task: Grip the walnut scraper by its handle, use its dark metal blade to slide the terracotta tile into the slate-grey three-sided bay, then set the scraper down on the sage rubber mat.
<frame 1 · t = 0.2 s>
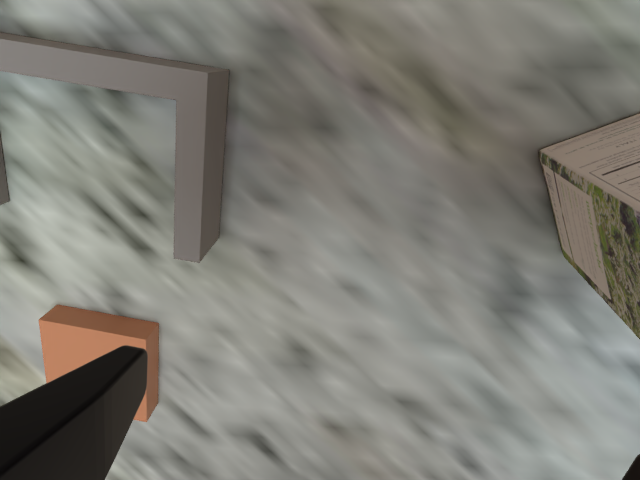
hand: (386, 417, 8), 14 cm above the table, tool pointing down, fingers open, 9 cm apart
tile: (113, 351, 27), on the table
syrup box: (608, 182, 20), on the table
bay: (98, 140, 22), on the table
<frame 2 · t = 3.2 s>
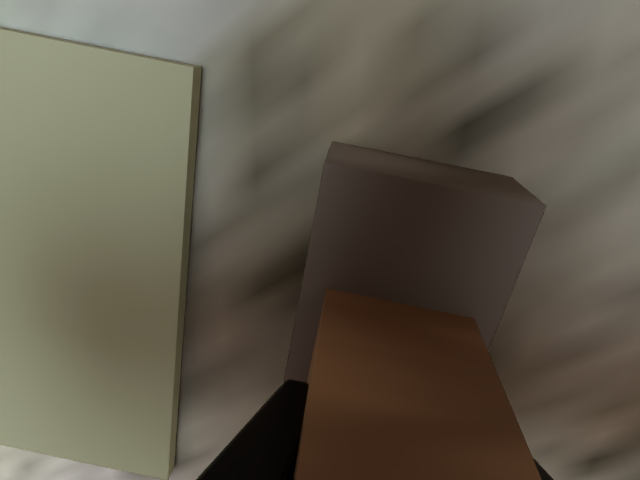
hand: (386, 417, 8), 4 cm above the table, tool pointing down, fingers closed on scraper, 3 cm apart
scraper: (379, 312, 11), on the table, touching gripper
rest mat: (1, 268, 12), on the table
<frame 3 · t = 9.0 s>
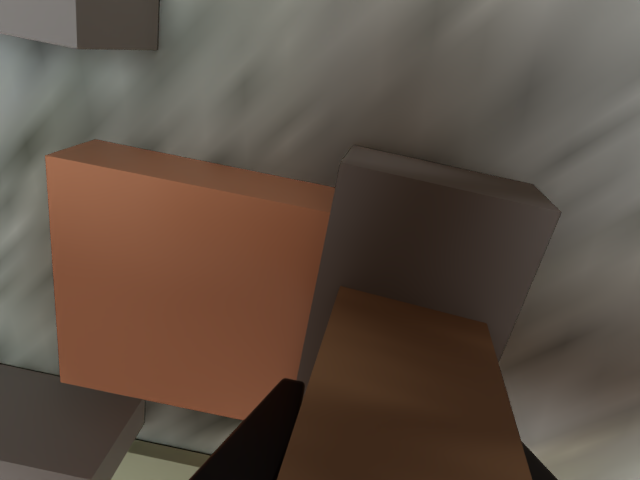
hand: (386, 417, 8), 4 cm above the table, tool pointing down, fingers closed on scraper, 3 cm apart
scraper: (396, 315, 11), on the table, tilted 6°, touching gripper
tile: (207, 269, 12), on the table
bay: (4, 220, 12), on the table
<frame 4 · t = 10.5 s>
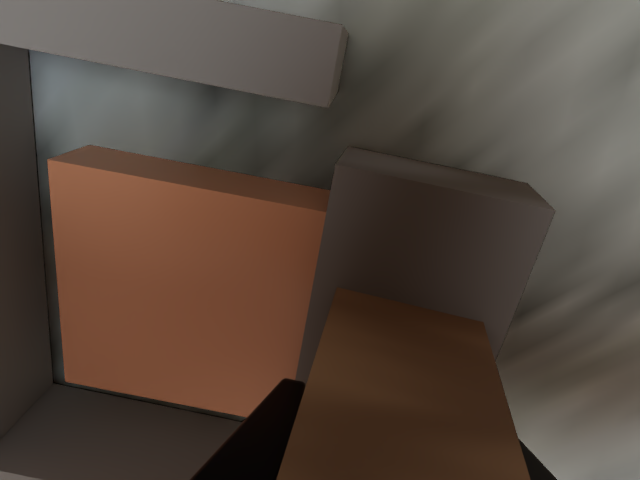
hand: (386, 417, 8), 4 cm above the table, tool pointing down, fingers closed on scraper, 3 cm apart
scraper: (394, 315, 11), on the table, tilted 5°, touching gripper
tile: (208, 268, 12), on the table
bay: (152, 259, 12), on the table
when the fingers open (5 cm above the table, at t = 14.6 s): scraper stays where it is, resting on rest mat.
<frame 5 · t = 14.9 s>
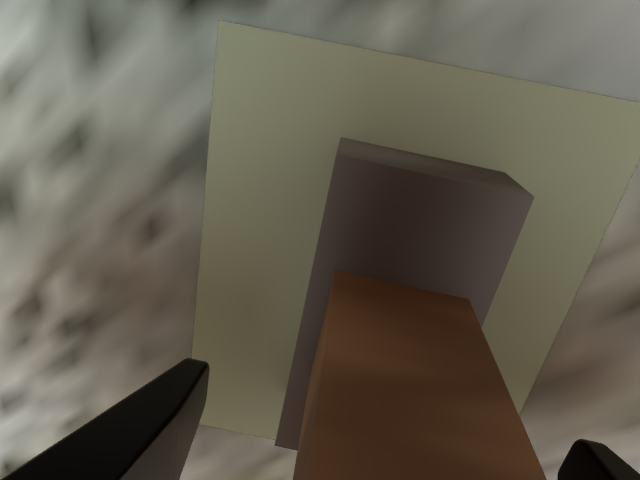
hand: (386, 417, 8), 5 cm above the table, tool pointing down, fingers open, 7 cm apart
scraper: (381, 297, 12), resting on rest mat
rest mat: (377, 286, 13), on the table
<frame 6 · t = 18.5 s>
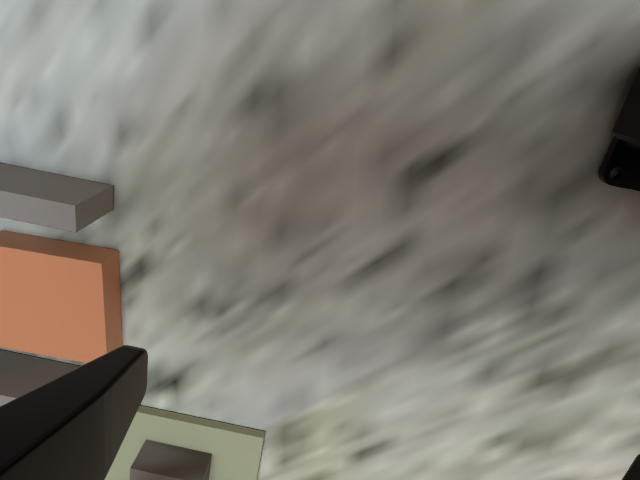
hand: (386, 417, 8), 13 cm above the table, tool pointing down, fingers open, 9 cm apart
tile: (70, 288, 24), on the table
bay: (39, 283, 23), on the table
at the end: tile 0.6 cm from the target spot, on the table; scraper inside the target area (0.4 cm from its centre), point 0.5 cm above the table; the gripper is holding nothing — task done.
